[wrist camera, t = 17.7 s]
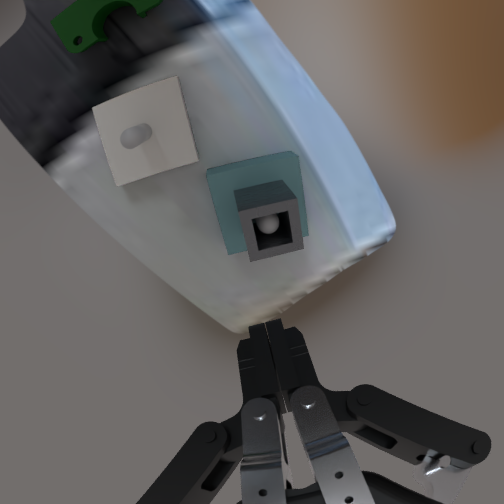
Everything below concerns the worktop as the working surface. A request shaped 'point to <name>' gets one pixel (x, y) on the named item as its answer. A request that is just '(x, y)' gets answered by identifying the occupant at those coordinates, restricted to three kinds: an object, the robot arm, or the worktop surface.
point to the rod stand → (146, 131)
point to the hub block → (245, 176)
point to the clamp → (92, 20)
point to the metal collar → (266, 203)
